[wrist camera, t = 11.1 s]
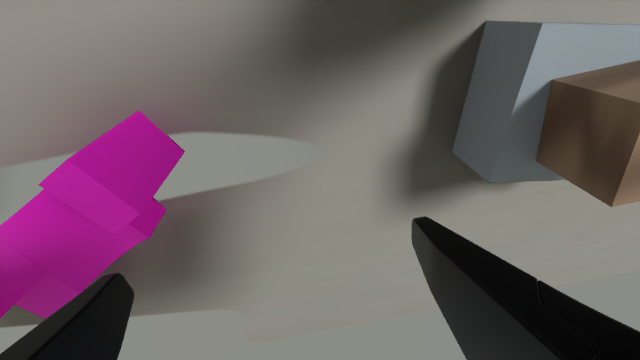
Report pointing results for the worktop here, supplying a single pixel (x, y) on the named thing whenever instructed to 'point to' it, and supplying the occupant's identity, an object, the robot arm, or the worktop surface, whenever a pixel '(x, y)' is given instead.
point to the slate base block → (528, 89)
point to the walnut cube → (595, 132)
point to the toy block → (85, 217)
